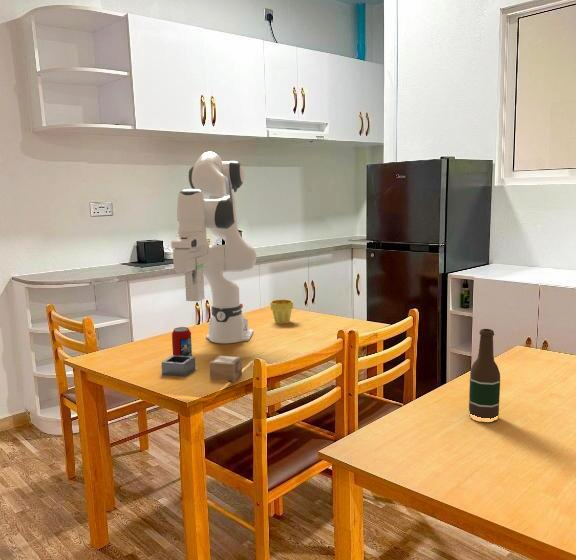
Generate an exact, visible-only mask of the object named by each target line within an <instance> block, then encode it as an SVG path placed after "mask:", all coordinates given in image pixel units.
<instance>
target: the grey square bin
mask: <svg viewBox="0 0 576 560" xmlns="http://www.w3.org/2000/svg"><path fill="white" fill-rule="evenodd" d="M199 368H200V367H199V366H196V357H195V356H193V355H192V356H179V355H173V354H172V355H171V356H169V357H168V358H165V360H163V361H161V372H160V373H159V374H158V375H159V376H170V377H171V376H172V377H183V378H187V377H188V376H189V375H191V374H192V373H193V372H195V371H196V370H197V369H199Z"/></svg>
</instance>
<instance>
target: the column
mask: <svg viewBox="0 0 576 560" xmlns="http://www.w3.org/2000/svg"><path fill="white" fill-rule="evenodd" d="M192 277H193V279H194V284H192V285H188V284H187V279H186V276H185V275H184V281H185V283H184V284H185V285H184V287H185V301H187V302H200V301H203V300H205V283H204V282H205V281H204V280H205V277H204V275H203V256H201V257H197V258H196V269H195V270H192Z"/></svg>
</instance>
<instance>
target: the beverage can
mask: <svg viewBox="0 0 576 560" xmlns="http://www.w3.org/2000/svg"><path fill="white" fill-rule="evenodd" d="M171 342H172V345H171V346H172V355H179V356H193V349H192V346H193V345H192V332H191V330H190V328H189V327H187V326H179V327H175V328H173V331H172V332H171Z"/></svg>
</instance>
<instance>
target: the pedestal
mask: <svg viewBox="0 0 576 560" xmlns="http://www.w3.org/2000/svg"><path fill="white" fill-rule="evenodd" d="M242 364H243V363H242V356H232V355H231V356H230V355H218V356H216V357H215V358H213V360H210V362H209V378H210V379H221V380H222V379H223V380H228V381H227V383H234V382H236V381H237V380H238V379H239V378H240V377H241V376H242V375H243V368H242V367H243V365H242Z"/></svg>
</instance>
